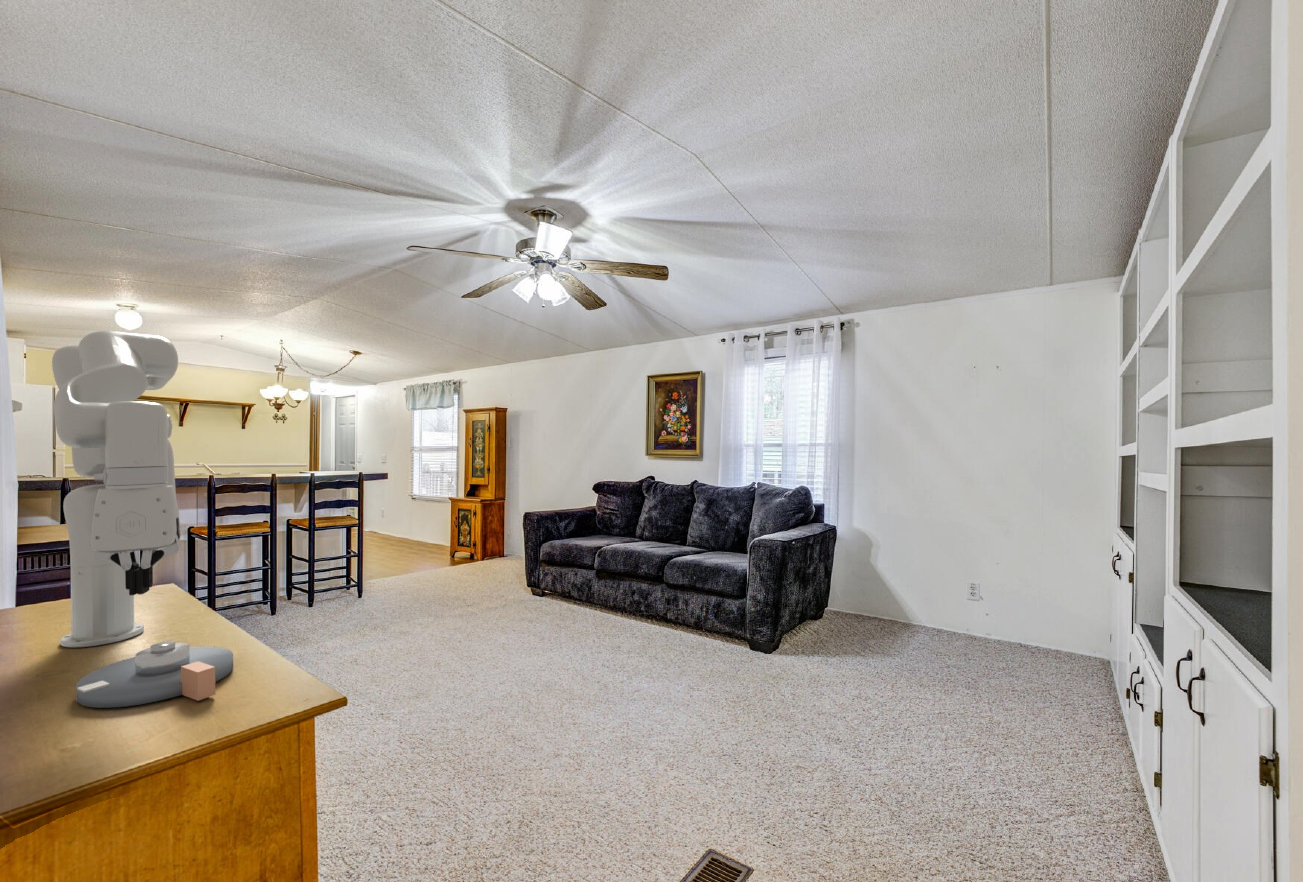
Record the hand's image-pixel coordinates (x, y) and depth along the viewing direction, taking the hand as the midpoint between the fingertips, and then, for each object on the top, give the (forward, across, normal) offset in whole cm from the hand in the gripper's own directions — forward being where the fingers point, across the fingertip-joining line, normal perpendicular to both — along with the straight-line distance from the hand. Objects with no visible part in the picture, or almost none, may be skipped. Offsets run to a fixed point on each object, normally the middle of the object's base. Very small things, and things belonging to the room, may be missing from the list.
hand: (139, 592), depth 94 cm
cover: (+14, +2, +4) cm, 14 cm away
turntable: (+16, +3, +2) cm, 16 cm away
